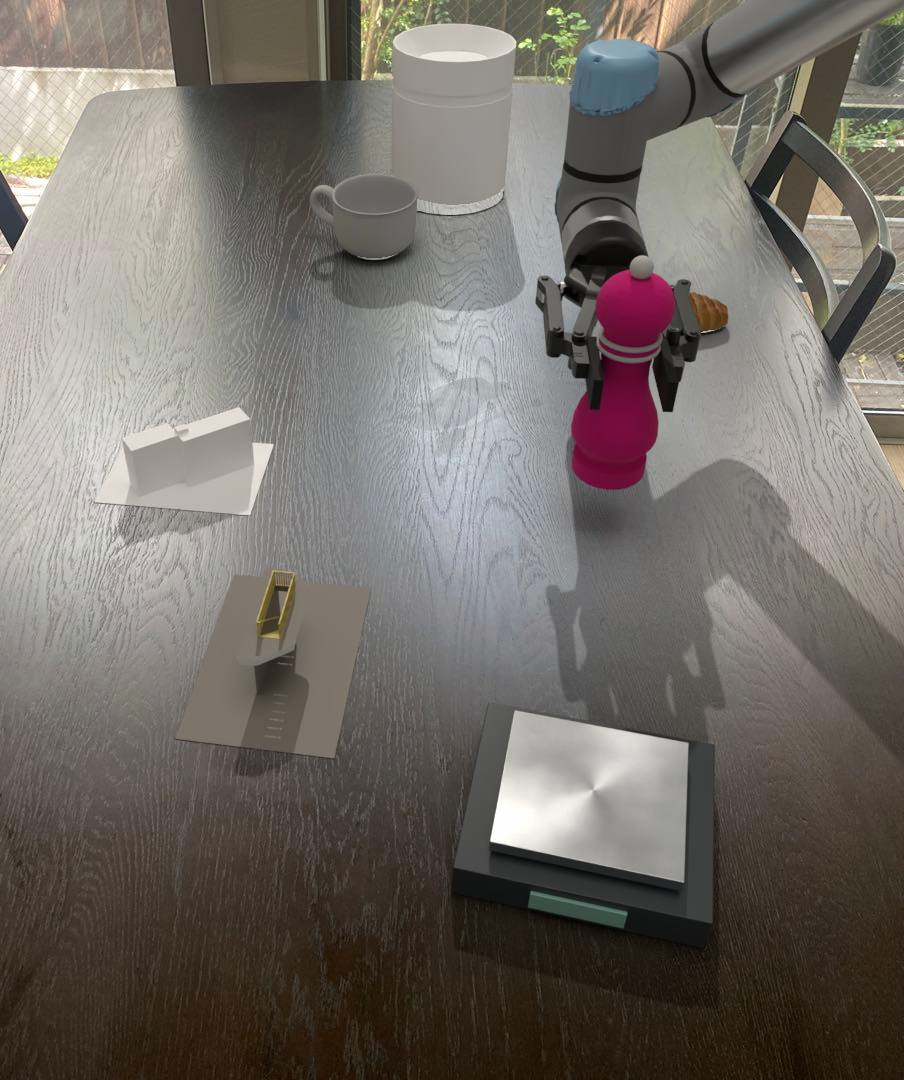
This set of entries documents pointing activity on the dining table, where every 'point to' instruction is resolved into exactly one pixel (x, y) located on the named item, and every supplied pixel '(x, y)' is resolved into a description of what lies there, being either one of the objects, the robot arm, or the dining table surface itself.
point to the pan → (594, 800)
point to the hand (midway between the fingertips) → (633, 395)
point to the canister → (452, 110)
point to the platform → (278, 666)
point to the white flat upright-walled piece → (190, 466)
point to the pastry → (708, 312)
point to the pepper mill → (623, 379)
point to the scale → (578, 889)
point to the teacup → (370, 213)
